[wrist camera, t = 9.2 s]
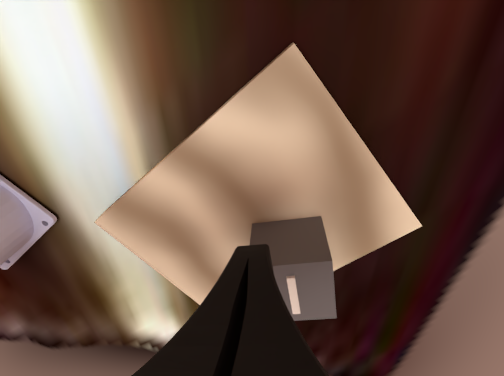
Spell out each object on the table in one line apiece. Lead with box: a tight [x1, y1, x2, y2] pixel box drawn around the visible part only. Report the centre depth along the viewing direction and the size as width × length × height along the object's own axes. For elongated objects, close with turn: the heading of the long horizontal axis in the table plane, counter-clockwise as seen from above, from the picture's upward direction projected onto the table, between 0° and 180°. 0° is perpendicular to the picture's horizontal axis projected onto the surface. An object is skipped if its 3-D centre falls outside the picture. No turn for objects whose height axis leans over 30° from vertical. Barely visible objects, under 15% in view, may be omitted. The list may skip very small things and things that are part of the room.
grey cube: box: [250, 216, 336, 321], centre depth 20 cm, size 5×5×5 cm
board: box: [94, 43, 422, 305], centre depth 21 cm, size 19×15×2 cm
